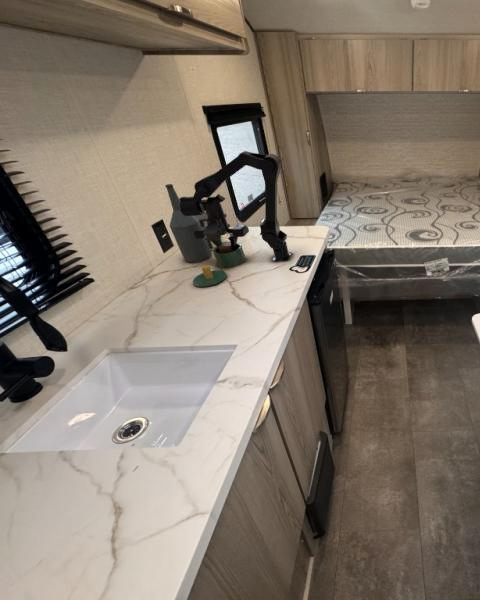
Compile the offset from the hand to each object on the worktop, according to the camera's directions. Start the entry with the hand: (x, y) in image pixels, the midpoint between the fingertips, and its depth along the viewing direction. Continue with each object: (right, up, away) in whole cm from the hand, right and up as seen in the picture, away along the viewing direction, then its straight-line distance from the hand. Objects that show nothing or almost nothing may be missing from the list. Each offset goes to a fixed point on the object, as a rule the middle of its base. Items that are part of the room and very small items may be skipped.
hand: (228, 251), depth 130 cm
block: (0, -1, 0) cm, 1 cm away
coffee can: (-15, +5, +16) cm, 23 cm away
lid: (-1, -11, -10) cm, 15 cm away
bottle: (-16, -2, +6) cm, 17 cm away
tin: (0, -4, +2) cm, 4 cm away
